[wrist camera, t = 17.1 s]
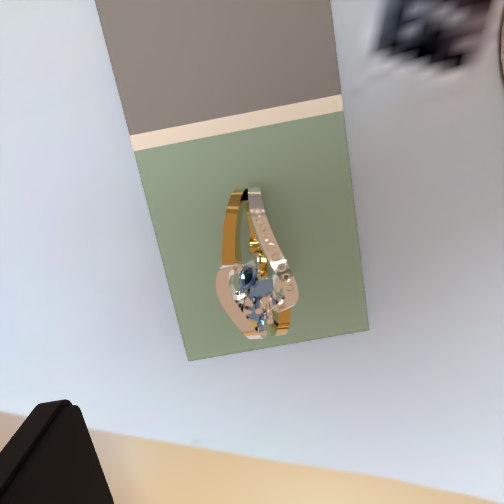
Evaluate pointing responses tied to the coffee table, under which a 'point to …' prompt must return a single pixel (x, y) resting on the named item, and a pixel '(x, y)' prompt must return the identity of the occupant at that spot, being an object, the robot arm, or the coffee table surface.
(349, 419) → the coffee table surface
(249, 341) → the board
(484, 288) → the coffee table surface
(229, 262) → the ring
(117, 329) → the coffee table surface
